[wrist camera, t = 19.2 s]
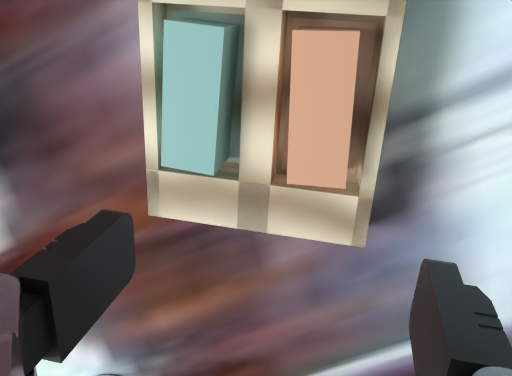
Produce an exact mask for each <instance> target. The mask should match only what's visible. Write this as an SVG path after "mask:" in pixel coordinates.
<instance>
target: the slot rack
mask: <svg viewBox="0 0 512 376" xmlns="http://www.w3.org/2000/svg"><path fill="white" fill-rule="evenodd" d="M406 1H407V0H138V12H139V32H140V52H141V72H142V92H143V112H144V132H145V152H146V172H147V193H148V213H149V215H152V216H158V217H165V218H171V219H178V220H185V221H191V222H198V223H205V224H211V225H218V226H224V227H231V228H238V229H244V230H251V231H258V232H264V233H271V234H278V235H284V236H291V237H297V238H304V239H311V240H317V241H324V242H331V243H337V244H344V245H350V246H357V247H364V248H365V243H366V238H367V232H368V226H369V220H370V214H371V208H372V202H373V196H374V190H375V184H376V178H377V173H378V167H379V161H380V155H381V149H382V143H383V137H384V131H385V125H386V119H387V113H388V108H389V102H390V96H391V90H392V84H393V78H394V72H395V66H396V60H397V54H398V49H399V43H400V37H401V31H402V25H403V19H404V13H405V7H406ZM178 18H192V19H200V20H207V21H215V22H223V23H231V24H239V25H240V32H239V44H238V56H237V68H236V79H235V91H234V103H233V115H232V126H231V138H230V150H229V158H228V160H227V161H226V162H225V163H224V164H223V165H222V167H221V168H220V169H219V170H218V171H217V172H216V174H215V175H214V176H213V175H207V174H202V173H196V172H191V171H186V170H180V169H175V168H169V167H164V166H161V138H162V88H163V38H164V20H166V19H178ZM299 27H332V28H360V38H359V49H358V60H357V70H356V81H355V92H354V103H353V114H352V125H351V136H350V146H349V157H348V168H347V179H346V189H341V188H330V187H319V186H307V185H296V184H287V161H288V134H289V107H290V80H291V52H292V30H294V29H297V28H299Z"/></svg>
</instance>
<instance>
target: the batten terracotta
mask: <svg viewBox="0 0 512 376" xmlns="http://www.w3.org/2000/svg"><path fill="white" fill-rule="evenodd" d="M359 38H360V28H332V27H299V28H297V29H294V30H292V52H291V80H290V107H289V134H288V161H287V184H296V185H307V186H319V187H330V188H341V189H346V179H347V168H348V157H349V146H350V136H351V125H352V114H353V103H354V92H355V81H356V70H357V60H358V49H359Z"/></svg>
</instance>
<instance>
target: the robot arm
mask: <svg viewBox="0 0 512 376" xmlns="http://www.w3.org/2000/svg"><path fill="white" fill-rule="evenodd" d="M135 262H136V261H135V244H134V229H133V219H132V216H131V215H130V214H129V213H125V212H118V211H112V210H101V211H100V212H99V213H98V214H96V215H95V216H94V217H92V218H91V219H90V220H89V221H87V222H86V223H82V224H80V225H78V226H75V227H73V228H71V229H68V230H66V231H65V232H63V233H62V234H61V235H59V236H58V237H57V238H55V239H54V240H53V242H50V243H49V244H48V245H46V246H45V247H44V248H43V250H40V251H39V252H37V253H36V254H35V255H33V256H32V257H31V258H29V259H28V260H27V261H26V262H24V263H23V264H22V265H20V266H19V267H18V268H16V269H15V270H14V271H13V272H11V273H10V274H9V275H7V274H0V376H37V372H36V367H35V366H36V365H37V364H38V363H39V362H40V360H41V359H44V360H49V361H53V362H58V363H62V362H63V361H64V359H65V358H66V357H67V356H68V355H69V353H70V352H71V351H72V350H73V349H74V347H75V346H76V345H77V344H78V343H79V341H80V340H81V339H82V338H83V337H84V335H85V334H86V333H87V332H88V331H89V329H90V328H91V327H92V326H93V325H94V323H95V322H96V321H97V320H98V319H99V317H100V316H101V315H102V314H103V313H104V311H105V310H106V309H107V308H108V307H109V305H110V304H111V303H112V302H113V301H114V299H115V298H116V297H117V296H118V295H119V293H120V292H121V291H122V290H123V289H124V287H125V286H126V285H127V284H128V283H129V281H130V280H131V278H132V276H133V273H134V269H135ZM409 332H410V340H411V347H412V353H413V360H414V367H415V374H416V376H512V347H511V345H510V343H509V341H508V338H507V336H506V334H505V332H504V331H503V327H502V324H501V322H500V320H499V319H498V315H497V313H496V311H495V308H494V306H493V304H492V301H491V300H490V299H489V298H488V297H487V296H486V295H485V294H484V293H483V292H482V291H481V290H480V289H479V288H478V287H477V286H471V285H464V284H463V281H462V278H461V276H460V273H459V270H458V267H457V265H456V264H455V263H451V262H444V261H437V260H431V259H424V260H423V262H422V264H421V268H420V272H419V276H418V281H417V285H416V289H415V294H414V298H413V302H412V307H411V312H410V322H409ZM100 376H114V375H100Z"/></svg>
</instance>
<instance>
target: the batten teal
mask: <svg viewBox="0 0 512 376" xmlns="http://www.w3.org/2000/svg"><path fill="white" fill-rule="evenodd" d="M239 32H240V25H239V24H231V23H223V22H215V21H207V20H200V19H192V18H178V19H166V20H164V38H163V88H162V138H161V166H164V167H169V168H175V169H180V170H186V171H191V172H196V173H202V174H207V175H213V176H214V175H215V174H216V172H217V171H218V170H219V169H220V168H221V167H222V165H223V164H224V163H225V162H226V161H227V160H228V158H229V150H230V138H231V126H232V115H233V103H234V91H235V79H236V68H237V56H238V44H239Z"/></svg>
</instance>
